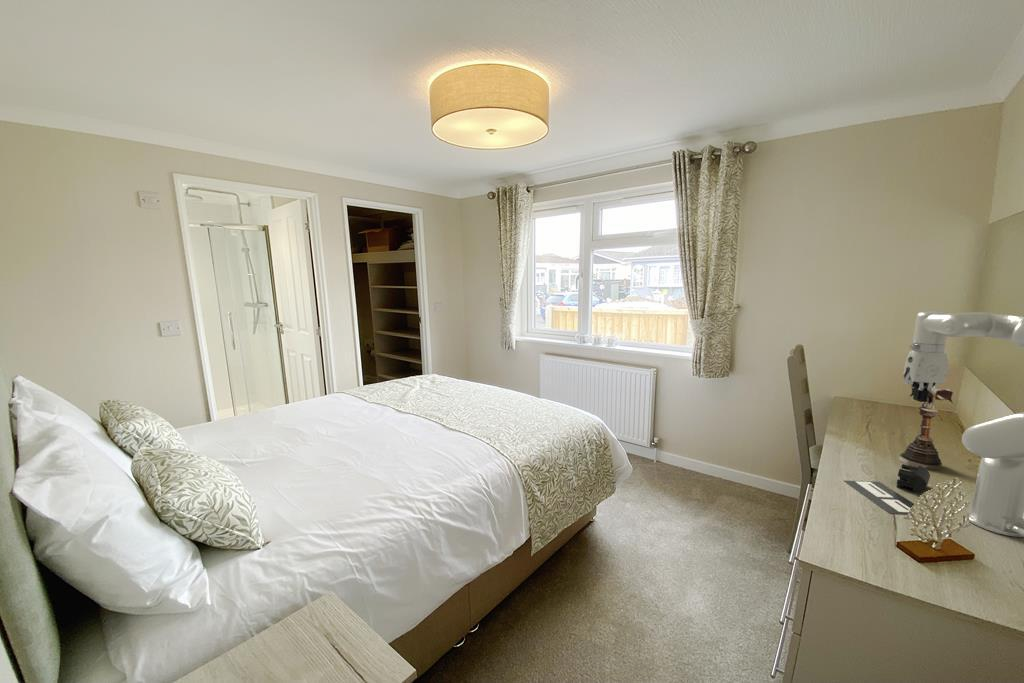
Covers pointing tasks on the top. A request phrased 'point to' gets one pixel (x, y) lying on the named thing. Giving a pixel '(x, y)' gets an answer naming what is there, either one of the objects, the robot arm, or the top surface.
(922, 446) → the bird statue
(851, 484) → the label panel
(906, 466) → the end cap
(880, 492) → the far label
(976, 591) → the top surface
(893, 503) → the near label
